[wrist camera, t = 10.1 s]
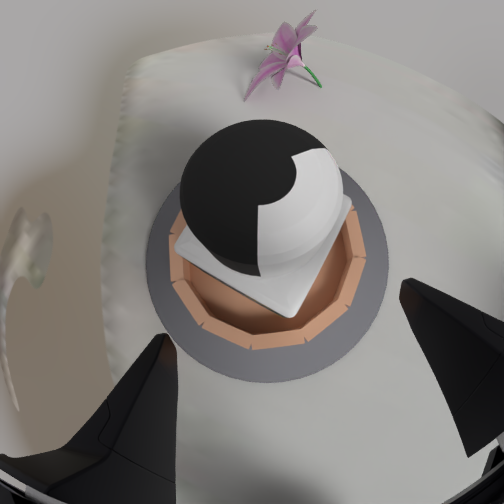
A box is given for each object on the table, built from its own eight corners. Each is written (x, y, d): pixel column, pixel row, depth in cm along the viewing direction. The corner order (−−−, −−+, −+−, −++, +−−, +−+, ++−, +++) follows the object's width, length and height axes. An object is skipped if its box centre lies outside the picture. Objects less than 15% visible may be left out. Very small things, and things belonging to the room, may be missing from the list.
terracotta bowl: (247, 380, 19) (244, 387, 17) (150, 237, 22) (139, 229, 20) (387, 268, 20) (398, 262, 18) (280, 146, 23) (281, 131, 21)
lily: (292, 53, 29) (252, 5, 21) (373, 61, 22) (342, -5, 14) (249, 119, 31) (196, 74, 23) (332, 140, 24) (284, 75, 16)
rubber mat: (240, 426, 18) (239, 428, 18) (114, 234, 23) (111, 232, 23) (426, 274, 20) (429, 273, 20) (284, 116, 25) (284, 113, 24)
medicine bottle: (203, 272, 21) (122, 214, 9) (250, 195, 22) (228, 81, 10) (285, 319, 19) (305, 322, 8) (330, 236, 20) (386, 145, 9)
